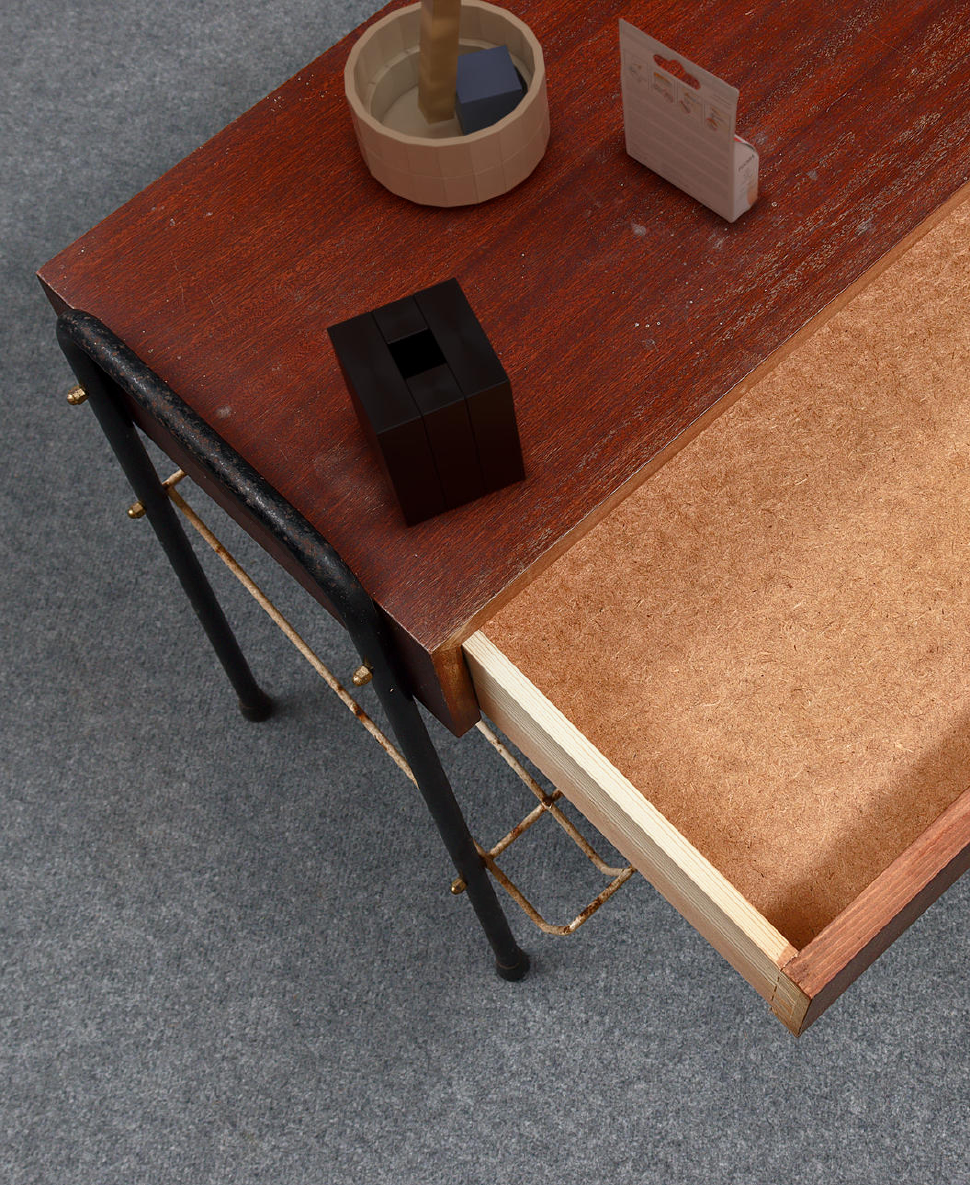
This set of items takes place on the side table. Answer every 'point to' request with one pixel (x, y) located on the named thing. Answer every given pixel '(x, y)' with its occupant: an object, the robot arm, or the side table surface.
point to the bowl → (440, 151)
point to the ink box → (685, 127)
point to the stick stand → (431, 400)
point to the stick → (438, 59)
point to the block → (485, 88)
